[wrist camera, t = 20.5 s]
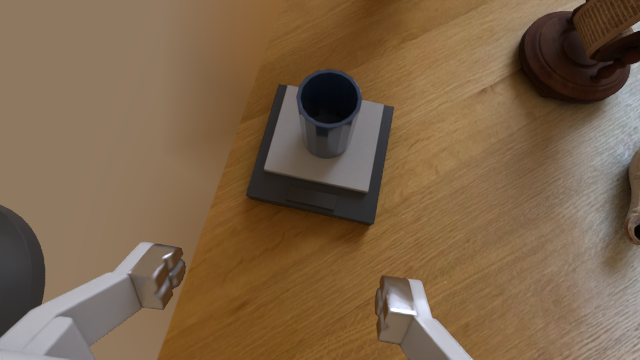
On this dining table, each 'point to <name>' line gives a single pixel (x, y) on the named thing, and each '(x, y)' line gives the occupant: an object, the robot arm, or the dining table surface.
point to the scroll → (582, 50)
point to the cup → (328, 112)
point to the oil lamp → (634, 201)
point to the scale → (321, 164)
